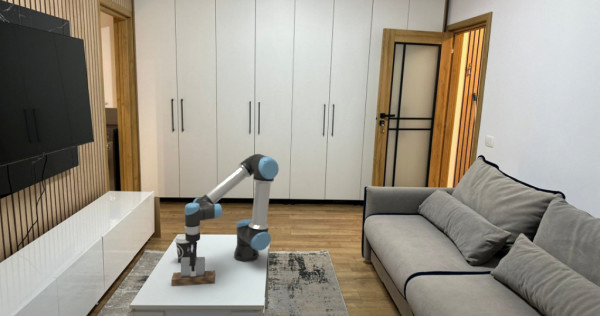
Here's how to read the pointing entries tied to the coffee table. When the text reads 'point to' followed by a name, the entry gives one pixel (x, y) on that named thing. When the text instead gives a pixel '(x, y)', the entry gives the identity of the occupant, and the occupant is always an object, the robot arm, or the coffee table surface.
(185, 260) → the grey flat block
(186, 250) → the coffee cup
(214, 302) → the coffee table surface
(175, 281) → the rail
